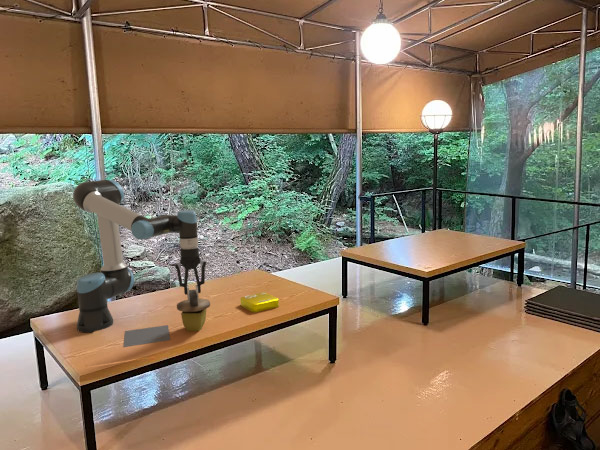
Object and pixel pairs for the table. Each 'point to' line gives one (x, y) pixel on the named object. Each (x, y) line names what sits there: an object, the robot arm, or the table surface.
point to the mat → (146, 335)
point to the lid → (193, 303)
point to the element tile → (259, 302)
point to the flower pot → (194, 320)
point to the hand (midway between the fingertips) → (193, 300)
